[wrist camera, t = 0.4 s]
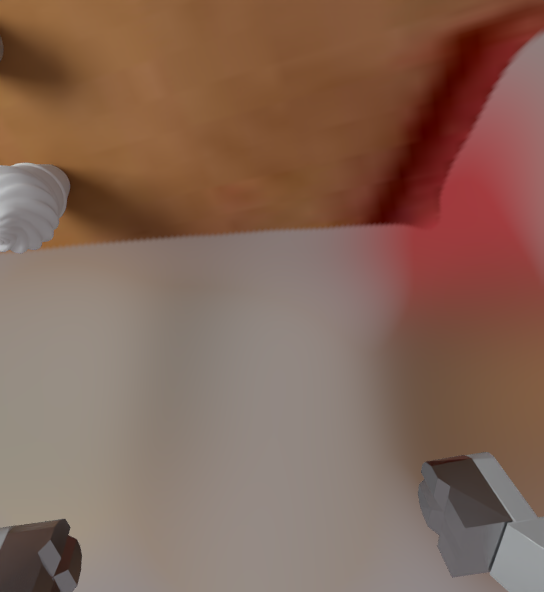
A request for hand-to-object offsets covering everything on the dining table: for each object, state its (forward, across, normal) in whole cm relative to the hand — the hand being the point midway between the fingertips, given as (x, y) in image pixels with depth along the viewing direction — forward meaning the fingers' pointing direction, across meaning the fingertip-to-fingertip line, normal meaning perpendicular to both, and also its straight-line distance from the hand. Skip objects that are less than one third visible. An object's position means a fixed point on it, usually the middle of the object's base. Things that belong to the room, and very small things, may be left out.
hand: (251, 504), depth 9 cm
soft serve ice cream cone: (+46, +20, +2) cm, 50 cm away
